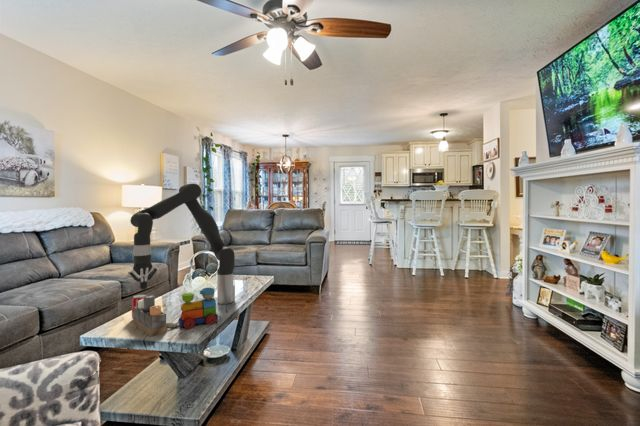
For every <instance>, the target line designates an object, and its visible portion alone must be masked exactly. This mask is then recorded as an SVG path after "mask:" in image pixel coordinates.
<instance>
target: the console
mask: <svg viewBox="0 0 640 426" xmlns="http://www.w3.org/2000/svg"><path fill="white" fill-rule="evenodd" d="M166 323H167V313H166V312H164V311H162V310H161V315H157V316H153V317H151V316H150V312H147V313H146V312H144V309H138V306H137V307H134V320H133V325H134V326H135V327H136V328H138V329H140V330H141V331H142V332H144V333H145V334H147V335H148V337H149V336H150V337H155V336H158V335H161V334H165V333H167V332H168V331H167V330H168V327H167V325H166Z"/></svg>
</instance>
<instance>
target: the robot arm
mask: <svg viewBox="0 0 640 426" xmlns="http://www.w3.org/2000/svg"><path fill="white" fill-rule="evenodd" d="M201 195H202V188H201V185H199V184H198V183H195V182H192V183H191V182H190V183H187V184H184V185H181V186H180V187H179V189H178V192H177V193H176V194H174V195H171V196H169V197H167V198H164V199H163V200H160V201H158V202H157V203H154V204H153V205H151V206H150V207H147V208H145V209H142V210H139V211H137V212H136V213H134V214H132V216H131V218H130V220H129V221H130V224H131V226H133V227H134V228H137V232H136V233H134V235H133V267H132V269H131V270H130V271H128V272H127V274H128V275H129V276H130V277H131V278H132V279H133V280H134V281H135V282H137V283H138V282H139V289H140V290H141V291H143V290H147V288H148V281H150V280H152V278H153V276H155V273H156V272H157V271H158V268H155V267H154V266H153V264H152V248H151V247H152V246H151V234H152V229H153V225H154V220H158V219H160V218H163V217H164V216H165V215H167V214H168V213H170V212H172V211H173V210H175V209H177V208H178V207H180V206H182V205H185V207H187V209H188V211H190V213H191V215H192V216H193V219H194V220H195V222H196V224H197V225H198V227H199V229H200V231H201V233H202V234H203V235H204V237H205V239H206V241H207V242H208V243H209V245H210V247H211V249H212V251H213V254H214V256H215V258H216V260H217V261H219V263H218V264H219V267H218V269H217V270H216V273H217V274H216V275H217V276H216V277H217V278H216V281H217V282H216V283H217V286H216V287H217V289H216V290H217V293H216V295H217V299H216V300H217V301H216V302H217V303H218V304H220V305H228V303H229V304H232V303H233V302H235V301H236V296H235V295H236V294H235V293H236V292H235V291H236V290H235V289H236V287H235V286H236V285H235V284H234V270H235V264H236V263H235V260H236V259H235V256H236V255H235V252H234V251H235V250H233V249H232V248H230V247H229V246H226V244H225V242H224V241H223V239H222V238H221V234H220V230H219V226H218V224H217V222H216V220H215V218H214V217H213V215H212V214H211V213H210V212H208V211H207V209H205V208H204V207H203V206H202V205H201V204H200V202H199V201H198V199H199V198H200V197H201ZM136 274H137V276H136Z"/></svg>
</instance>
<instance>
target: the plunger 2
mask: <svg viewBox="0 0 640 426" xmlns="http://www.w3.org/2000/svg"><path fill="white" fill-rule="evenodd" d="M161 311H162V305H158V304H155V306H152V307H150V316H151V317H153V316H157V315H161Z"/></svg>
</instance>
